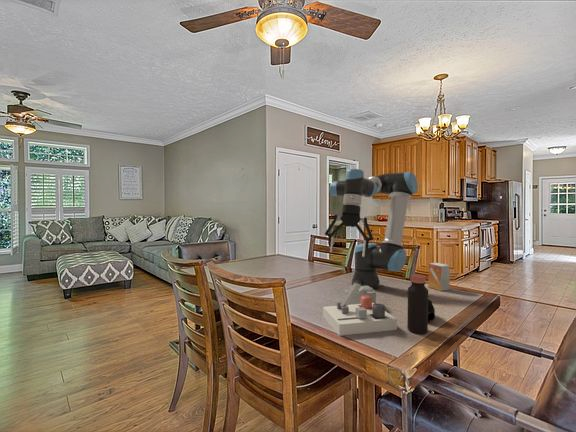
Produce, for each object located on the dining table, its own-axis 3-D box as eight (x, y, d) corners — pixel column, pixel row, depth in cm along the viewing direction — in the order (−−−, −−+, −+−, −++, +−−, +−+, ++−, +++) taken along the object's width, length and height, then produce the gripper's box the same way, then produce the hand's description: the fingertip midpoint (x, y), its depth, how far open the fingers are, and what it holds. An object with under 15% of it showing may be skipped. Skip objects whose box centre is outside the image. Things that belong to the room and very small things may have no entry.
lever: (342, 308, 120) (359, 281, 121) (345, 311, 117) (363, 283, 118) (338, 305, 120) (355, 278, 121) (341, 308, 117) (358, 280, 118)
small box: (428, 287, 164) (428, 263, 163) (436, 285, 166) (437, 262, 166) (440, 291, 156) (441, 266, 156) (449, 289, 159) (450, 265, 158)
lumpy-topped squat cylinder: (377, 309, 131) (377, 289, 131) (347, 310, 131) (347, 290, 130) (370, 301, 142) (370, 283, 141) (342, 302, 141) (342, 283, 141)
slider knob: (363, 315, 113) (363, 307, 113) (366, 318, 110) (366, 310, 110) (355, 315, 113) (355, 307, 113) (359, 318, 110) (359, 310, 110)
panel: (373, 312, 128) (373, 297, 128) (396, 329, 110) (396, 312, 110) (323, 316, 123) (323, 301, 123) (339, 335, 106) (339, 317, 105)
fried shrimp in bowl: (419, 313, 113) (393, 286, 130) (423, 334, 118) (397, 305, 134) (441, 303, 114) (412, 277, 130) (444, 324, 119) (416, 296, 135)
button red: (368, 308, 125) (369, 295, 125) (374, 312, 121) (374, 298, 121) (359, 309, 125) (359, 295, 124) (363, 313, 120) (363, 299, 120)
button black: (381, 317, 116) (381, 303, 115) (387, 321, 111) (387, 307, 111) (370, 318, 115) (370, 304, 114) (376, 322, 110) (376, 308, 110)
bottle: (431, 334, 107) (432, 277, 106) (412, 335, 106) (413, 278, 105) (421, 326, 113) (422, 273, 112) (403, 326, 113) (404, 273, 112)
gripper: (322, 201, 130) (316, 251, 128) (382, 206, 125) (378, 258, 123) (323, 203, 137) (318, 250, 135) (380, 208, 132) (376, 257, 131)
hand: (346, 254), depth 129 cm, fingers open, 13 cm apart
